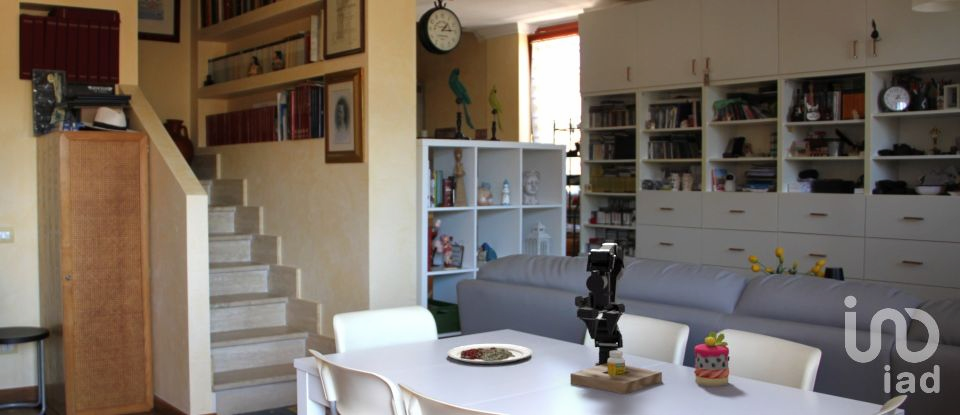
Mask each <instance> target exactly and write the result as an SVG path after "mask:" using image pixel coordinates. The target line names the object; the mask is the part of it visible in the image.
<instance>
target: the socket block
mask: <svg viewBox="0 0 960 415" xmlns="http://www.w3.org/2000/svg"><path fill="white" fill-rule="evenodd" d="M662 382H663V371H659V370H652V369H647V368H643V367H642V368H641V367H635V366H630V365H625V375H621V376H615V375H610V374H608V363H606V364H602V365H596V366H592V367H589V368H585V369H581V370H579V371H575V372H574V371H573V372H571V373H570V384H575V385H579V386H582V387H588V388H593V389H599V390H603V391H607V392H614V393H618V394H623V395H625V394H628V393H632V392H635V391H637V390H640V389H644V388H646V387H649V386H653V385H656V384H659V383H662Z"/></svg>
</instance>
